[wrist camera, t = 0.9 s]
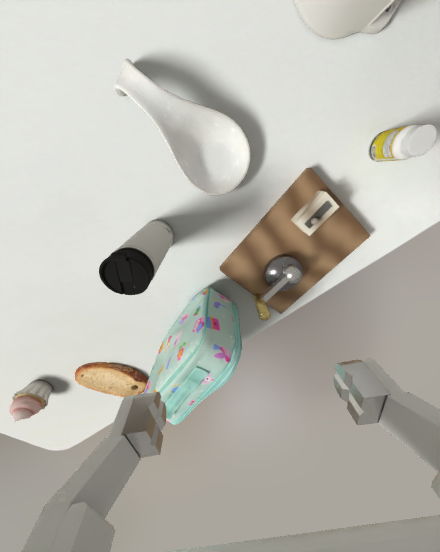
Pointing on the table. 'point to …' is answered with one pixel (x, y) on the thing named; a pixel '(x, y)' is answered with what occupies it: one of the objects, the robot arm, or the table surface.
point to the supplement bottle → (402, 143)
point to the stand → (297, 239)
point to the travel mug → (137, 259)
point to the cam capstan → (278, 280)
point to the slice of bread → (111, 378)
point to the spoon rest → (191, 134)
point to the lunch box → (197, 354)
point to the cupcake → (30, 400)
